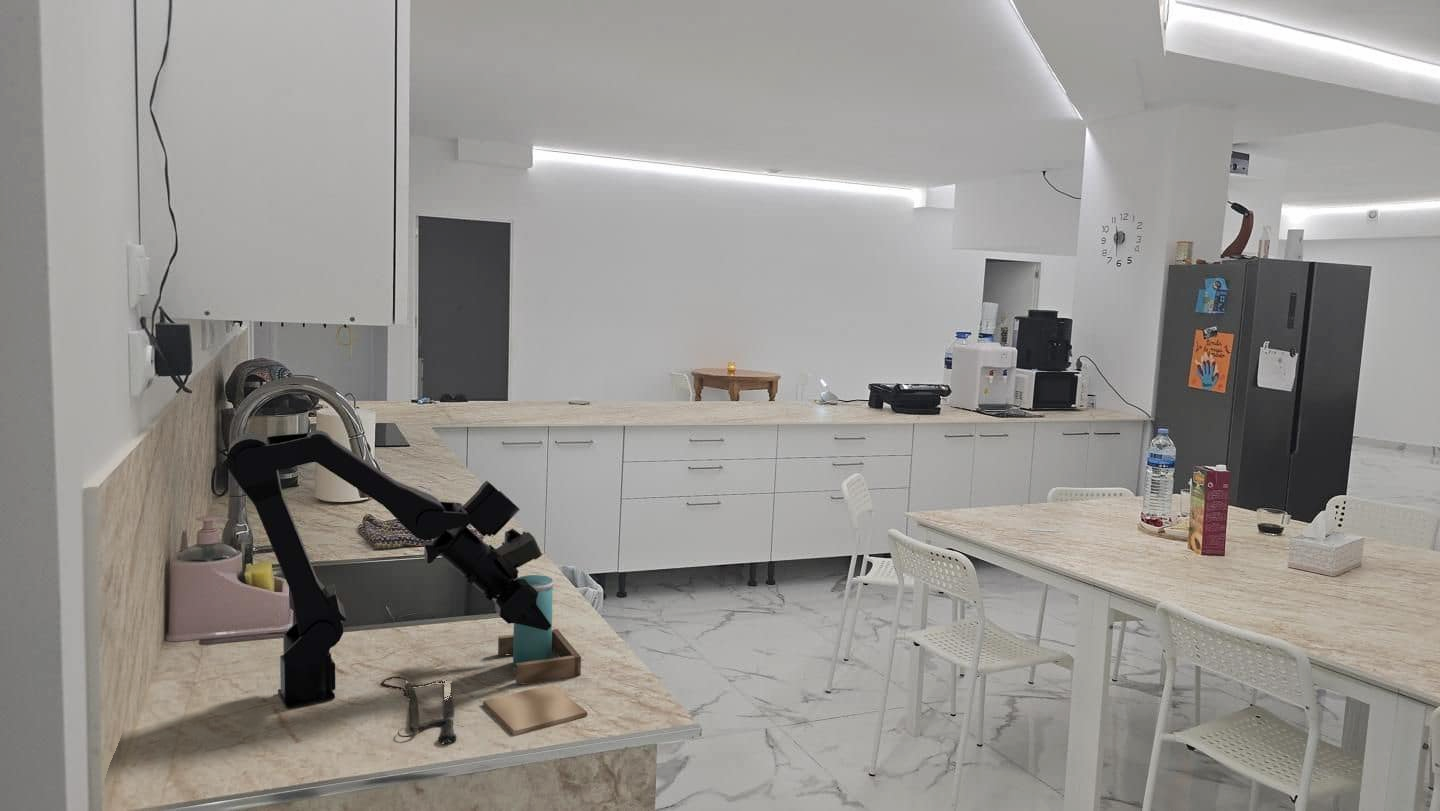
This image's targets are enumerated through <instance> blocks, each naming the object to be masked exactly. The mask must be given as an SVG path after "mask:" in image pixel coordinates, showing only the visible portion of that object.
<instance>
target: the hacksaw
mask: <svg viewBox="0 0 1440 811" xmlns="http://www.w3.org/2000/svg"><path fill="white" fill-rule="evenodd" d="M392 678H394V679H400V678H402V679H401V680H403V679H404V681H405V680H407V681H408V679H407V678H404V677H401V676H389V677H387V678H385V679H383V680H382V681H381V682H380V684H381V686H383V687H386V688H389V687H392V688H391V689H396V688H399V690H401V689H403V691H404V693H403V694H402V695H403V697H404V696H406V695H407V696H408V697H409V698H408V697H407V696H406V697H407V698H408V701H409V705H410V706H409V707H408V708H409V709H408V712H409V716H408V717H409V718H408V720H409V725H408V729H409V730H411V731H413V733H411V734H409V735H408V734H407V735H401V734H400V732H401V731H402V730H404V729H405V728H404V727H402V728H401V729H399V730H398V732H397V735H398V737H400V738H411V737H414V736H416V735H417V734H419V732H420V731H422V730H425V729H427V728H429V727H433V726H440V725H443V732H442V733H441V734H440V735H439V736H438V737H437V740H438V741H439V743H440V744H441V743H444V744H443V745H449V744H448V743H451V744H454V743H456V742H457V734H455V732H454V730H455V729H454V719H453V717H455V715H454V714H455V713H454V701H453V700H454V699H453V693H452V694H451V693H450V694H451V695H450V696H452V697H450V696H449V698H447V699H448V700H447V699H446V700H444V699H443V703H444V704H443V706H444V718H441V719H440V718H439V719H435V718H434V719H432V720H429V721H425V722H423V723H420V716H419V706H418V705H419V704H418V698H416V697H417V695H416V692H415V688H413V687H419V686H426V685H429V684H432V683H436V681H437V682H438V681H439V682H438V683H441V682H442V683H445V681H444V682H443V681H442V680H443V679H442V680H441V679H440V680H434V681H431V682H427V683H426V682H425V683H422V684H414V683H413V684H411V683H407V684H406V683H405V685H404V687H405V686H406V687H405V688H404V687H401V686H398V685H397V686H396V685H390V684H386V683H385V682H387V681H390V680H393V679H392ZM386 680H387V681H386ZM445 680H446V681H447V680H448V679H445ZM423 684H424V685H423ZM426 687H427V686H426ZM406 688H407V689H408V690H407V689H406ZM413 689H414V690H413ZM403 691H402V692H403ZM447 697H448V696H447ZM445 698H446V697H445ZM409 699H410V700H409ZM445 743H446V744H445Z"/></svg>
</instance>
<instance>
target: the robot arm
mask: <svg viewBox="0 0 1440 811" xmlns="http://www.w3.org/2000/svg"><path fill="white" fill-rule="evenodd" d="M225 461H226V467H227V469H228V471H229V473H230V474H231V475H232V477H233V479H234V480H235V482H236V483H237V484H238V486H239V488H240V489H241V490H242V491H243V493H244V494H245V495H246V496H247V498H248V499H249V500H250V502H252V504H253V506H254V507H255V509H256V512H257V514H258V517H259V519H260V521H261V524H262V526H263V528H264V531H265V533H266V536H267V539H268V541H269V542H270V545H271V548H272V550H273V552H274V555H275V558H276V559H277V562H278V565H279V567H280V569H281V571H282V574H283V576H284V579H285V581H286V583H287V586H288V588H289V591H290V593H291V597H292V601H293V602H292V603H293V609H294V615H295V623H293V624H292V626H290V627H289V628H288V630H287V631H285V632H284V633H283V635H282V638H283V639H282V640H283V642H282V643H283V646H282V647H283V648H282V650H283V651H282V652H283V654H281V655H280V656H279V659H280V660H279V661H280V662H279V663H280V668H279V670H280V671H279V672H280V673H279V674H280V688H279V689H278V690H277V694H278V696H279V698H280V700H281V701H282V703H283V705H284V707H285V708H286V709H293V708H298V707H303V706H308V705H313V704H317V703H321V702H326V701H330V700H335V698H336V694H335V693H334V691H335V690H336V663H335V661H334V660H333V658H332V653H331V652H330V650H331V648H333V647H335V646H336V645H337V644H338V643H339V642H340V640H341V638H342V636H343V635H344V626H343V622H345V621H347V618H346V612H345V608H344V607H345V606H344V604H343V603H342V602H341V601H340V600H339V598H338V596H337V592H336V587H335V583H334V582H332V583H330V584H329V585H327V586H326V587H325V586H324V584H323V583H322V582H321V580H320V579H319V578H318V577H317V575H316V572H315V569H314V566H313V565H312V562H311V559H310V557H309V555H308V553H307V549H306V547H305V545H304V543H303V540H302V538H301V535H300V532H299V531H298V527H297V525H296V523H295V520H294V517H293V516H292V513H291V509H290V508H289V506H288V503H287V501H286V498H285V496H284V493H283V490H282V484H281V479H280V473H279V471H282V470H286V469H290V468H293V467H294V468H295V467H297V466H302V465H306V464H310V463H311V464H312V463H317V464H318V465H320V466H322V467H323V468H324V469H326V470H328V471H329V472H331V473H333V474H334V475H336V476H337V477H338V478H340V479H341V480H343V481H345V482H346V483H348V484H350V485H351V486H353V488H355V489H357V490H359V491H361V492H362V493H363V494H365V495H367V496H368V497H369V498H371V499H372V500H374V501H375V502H377V503H379V504H380V505H382V506H383V507H384V508H385V509H386V510H388V512H390V514H392V516H393V517H394V518H395V519H396V520H397V521H398V522H399V523H400V524H401V525H402V526H403V527H404V528H405V529H407V530H408V531H409V532H410V533H411V534H412V535H413V536H414V537H415V538H417V539H419V540H422V541H424V542H423V543H422V545H423V547H424V550H423V551H424V552H423V557H424V559H425V562H426V563H427V564H432V563H433V562H434V561H435V560H436V559H437V558H438V557H439V556H440V557H441V558H442V559H443V560H445V561H446V562H447V563H448V564H449V565H450V566H452V567H453V568H454V569H455V570H456V571H458V572H459V574H461V575H462V576H463V577H464V579H465V580H466V581H467V583H469V584H470V585H474V587H475V588H477V589H478V590H479V591H480V592H482V594H483V596H485V598H486V599H488V600H489V602H491V601H492V599H495V602H494V610H495V612H496V613H497V614H498V616H499V618H501V619H502V620H503V621H504V622H505V623H507V624H508V625H511V624H512V625H514V623H516V624H521V625H525V626H530V627H534V628H538V629H542V630H546V631H547V630H548V629H549V628H550V627H551V624H550V622H549V621H548V620H547V618H546V617H545V616H544V614H543V613H542V611H541V610H540V609H539V607H538V606H537V604H536V600H537V597H538V591H537V590H536V589H535V588H534V587H533V586H532V585H531V584H530V583H529V582H528V581H527V580H525V579H516V578H518V577H519V575H518V574H519V570H518V568H520V567H521V566H524V565H525V564H528V563H529V562H531V561H533V560H537V559H539V558H541V557H542V555H543V553H542V550H541V549H540V547H539V544H538V543H537V541H536V538H535V536H534V535H532V534H531V533H530V532H529V531H522V532H519V531H517V530H516V529H514V528H510V529H509V530H506V531H505V532H504V542H502V543H501V545H500V546H499V547H497V548H496V547H494V546H493V545H491V544H487V543H486V542H484V541H483V540H482V539H481V538H480V537H479V536H478V535H477V534H475V533H474V532H473V531H472V530H471V529H470V528H469V527H468V526H469V525H471V526H472V527H473V528H474V529H475V530H476V531H477V532H478V533H479V534H481V536H482V537H483V538H484V537H486V536H489V537H491V536H494V537H495V536H496V535H497V534H498V533H499V532H500V531H501V530H503V528H504V527H505V526H506V525H507V524H508V523H509V521H511V519H512V518H514V517H515V516H516V515H517V513H518V512H520V511H521V509H520V508H519V507H518V506H517V505H516V504H515V503H514V502H513V501H512V500H511V499H510V498H509V497H507V496H506V495H505V494H504V493H503V492H502V491H501V490H498V489H497V488H496V487H495V486H494V485H493V484H492V483H491V482H489V481H488V480H485V481H484V482H483V483H482V484H481V486H480V487H479V488H478V490H477V491H476V492H475V493H474V494H473V495H472V496H471V497H470V498H469V499H468V500H467V501H466V502H465V503H464V504H462V503H461V502H452V501H451V502H450V501H441V500H438V498H437V497H436V496H433V495H432V494H430V493H427V492H424V491H422V490H419V489H417V488H415V487H412V486H409V485H407V484H404V483H401V482H399V481H397V480H395V479H393V478H392V477H391V476H389V475H387V474H386V473H384V472H383V471H381V470H380V469H379V468H377V467H375V466H374V465H373V464H371V463H370V462H368V461H366V460H365V459H363V458H362V457H360V456H359V455H358V454H356V453H354V452H353V451H351V450H350V449H348V448H347V447H345V446H344V445H342V444H341V443H340V442H338V441H336V440H335V439H333V438H332V437H331V435H330V434H329V433H328V432H326V431H323V430H320V429H319V430H311V431H309V432H303V433H289V434H288V433H287V434H277V435H268V436H266V435H263V434H261V433H258V432H247V433H243V434H240V435H239V436H237V437H236V438H235V439H234V440H233V441H232V442H231V443H230V446H229V447H228V452H227V455H226V460H225ZM430 540H431V541H430ZM515 579H516V580H515Z"/></svg>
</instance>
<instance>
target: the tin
mask: <svg viewBox="0 0 1440 811" xmlns="http://www.w3.org/2000/svg"><path fill="white" fill-rule="evenodd" d="M516 579H525V580H527V581H528V582H529V583H530V584H531V585H532V586H533V587H534V588H535V589H536V590H537V591H538V597H537V600H536V604H537V606H538V607H539V609H540V610H541V611H542V613H543V614H544V616H545V617H546V618H547V620H548V621H549V622H550V624H551V627H550V628H549V629H548V630H547V631H546V630H542V629H538V628H534V627H530V626H525V625H521V624H516V623H513V635H514V636H513V654H512V668H513V667H514V668H515V669H516V663H523V662H530V661H537V660H544V659H551V658H552V649H551V647H552V630H553V597H554V596H553V594H554V592H553V590H554V588H553V587H554V579H553V578H552V577H551V576H549V575H544V574H526V575H521V576H518V578H516ZM516 579H515V580H516ZM514 668H513V669H514ZM515 669H514V670H515Z"/></svg>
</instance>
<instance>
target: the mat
mask: <svg viewBox="0 0 1440 811" xmlns="http://www.w3.org/2000/svg"><path fill="white" fill-rule="evenodd" d="M483 704H484V705H485V706H486V707H487V708H488V709H489V710H488V709H487V708H486V707H485V706H484V705H483ZM482 705H483V706H484V707H485V708H486V709H487V710H488V711H489V712H490V713H491V714H492V715H493V716H494V717H495V718H496V719H497V720H498V721H499V722H500V723H501V724H503V726H505V728H507V729H508V731H509V732H510V733H511V734H512V735H514V736H516V735H521V734H524V733H525V734H526V733H529V732H532V731H536V730H540V729H543V728H547V727H551V726H555V725H557V724H558V725H559V724H562V723H566V722H570V721H573V720H576V719H580V718H581V719H582V718H584V717H588V711H587V710H586V709H584V708H583V707H582V706H580V705H579V704H578V703H577V702H575V701H574V700H573V699H572V698H571V697H569V696H568V695H567V694H566V693H564V692H563V691H562V690H561V689H559V688H558V687H557V686H556V685H555V684H548V685H544V686H539V687H536V688H531V689H526V690H523V691H518V692H513V693H509V694H506V695H505V694H504V695H502V696H497V697H494V698H488V699H485V700H484V699H483V703H482Z"/></svg>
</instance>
